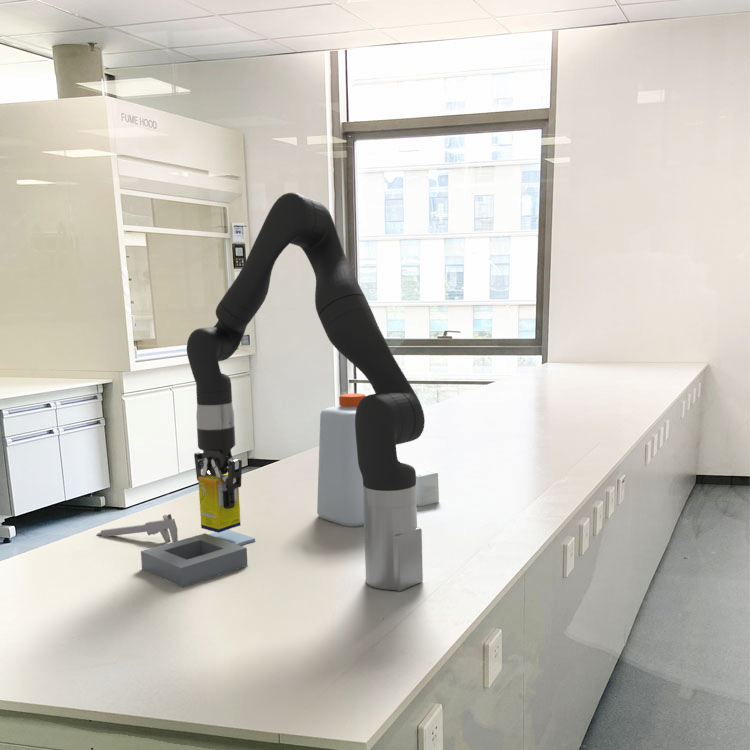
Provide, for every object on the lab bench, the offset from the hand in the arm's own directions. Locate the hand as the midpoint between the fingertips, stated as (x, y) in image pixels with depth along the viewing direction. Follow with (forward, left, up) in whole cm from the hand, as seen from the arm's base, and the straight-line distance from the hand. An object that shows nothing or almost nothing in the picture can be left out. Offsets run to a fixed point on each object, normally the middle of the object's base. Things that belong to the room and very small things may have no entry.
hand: (219, 504), depth 157 cm
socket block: (-9, +12, -8) cm, 17 cm away
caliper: (+16, +10, -8) cm, 21 cm away
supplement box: (0, 0, -5) cm, 5 cm away
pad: (0, 0, -8) cm, 8 cm away
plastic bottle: (-9, -31, -8) cm, 33 cm away
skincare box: (-12, -49, -8) cm, 52 cm away
